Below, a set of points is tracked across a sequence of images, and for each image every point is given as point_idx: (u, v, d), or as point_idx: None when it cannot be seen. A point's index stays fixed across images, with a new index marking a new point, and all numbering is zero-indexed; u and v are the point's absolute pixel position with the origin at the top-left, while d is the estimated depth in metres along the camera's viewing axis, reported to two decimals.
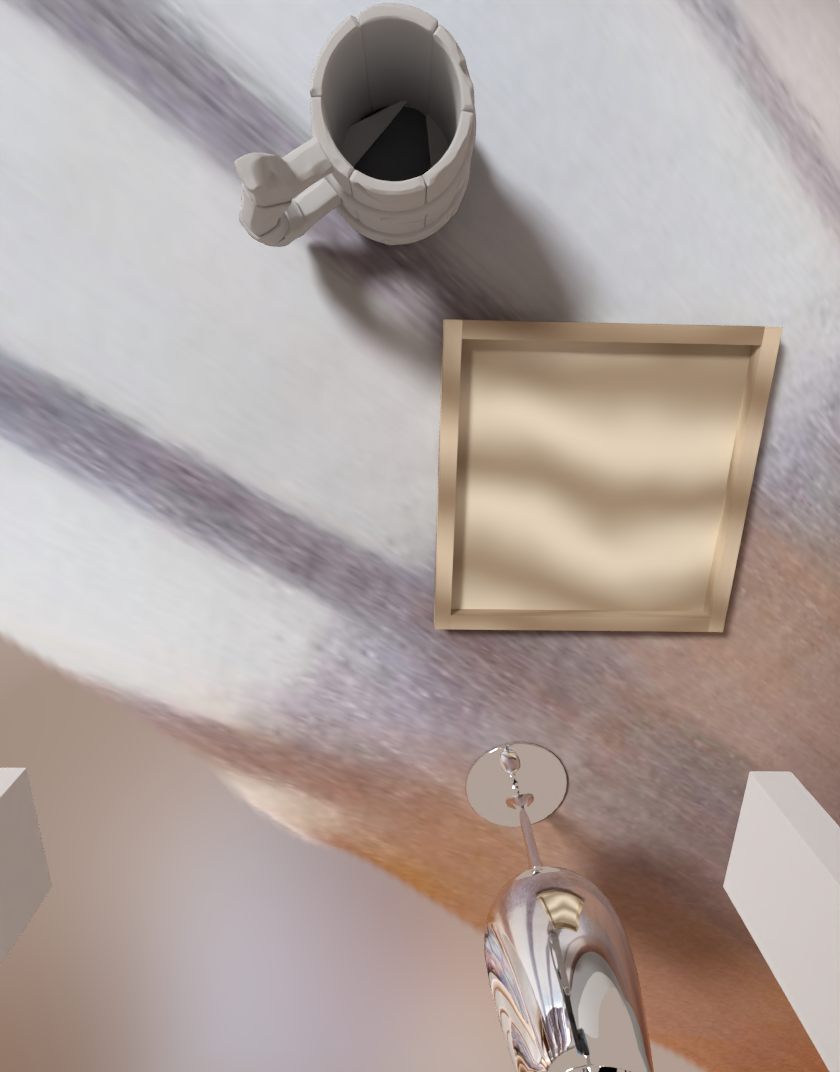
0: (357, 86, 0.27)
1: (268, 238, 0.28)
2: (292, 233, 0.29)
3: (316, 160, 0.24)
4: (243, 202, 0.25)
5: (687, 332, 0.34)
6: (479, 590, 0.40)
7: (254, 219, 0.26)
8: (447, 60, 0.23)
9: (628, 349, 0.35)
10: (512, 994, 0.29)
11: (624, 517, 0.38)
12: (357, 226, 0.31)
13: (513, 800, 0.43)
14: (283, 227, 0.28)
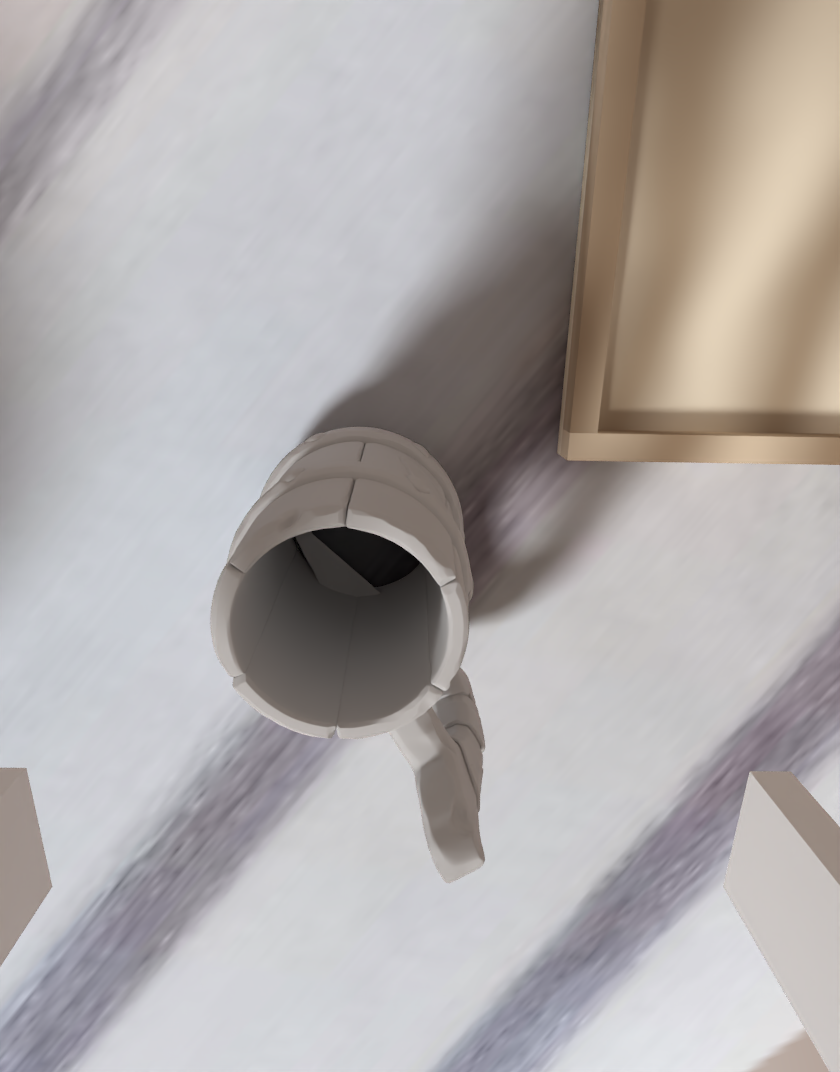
0: (289, 607, 0.20)
1: (480, 731, 0.21)
2: (463, 685, 0.22)
3: (416, 729, 0.16)
4: None
5: (626, 1, 0.18)
6: None
7: None
8: None
9: (633, 127, 0.20)
10: None
11: None
12: None
13: None
14: (464, 709, 0.21)
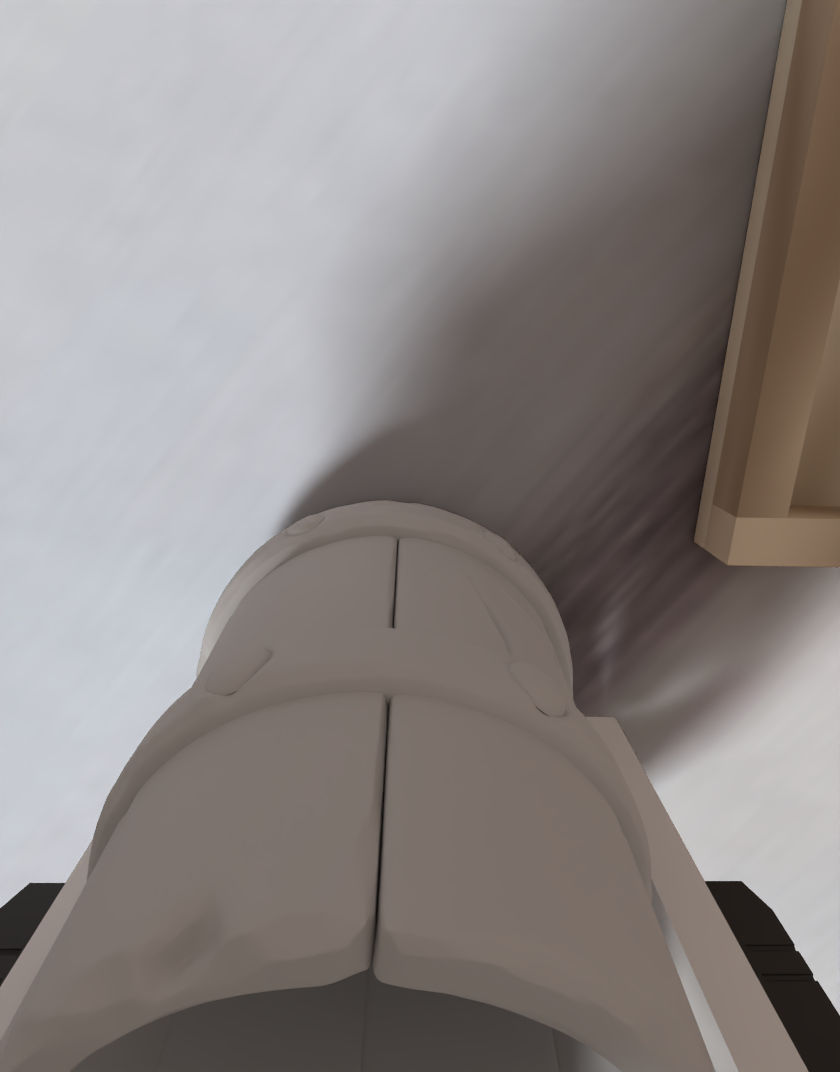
0: None
1: None
2: None
3: None
4: None
5: None
6: None
7: None
8: None
9: None
10: None
11: None
12: None
13: None
14: None
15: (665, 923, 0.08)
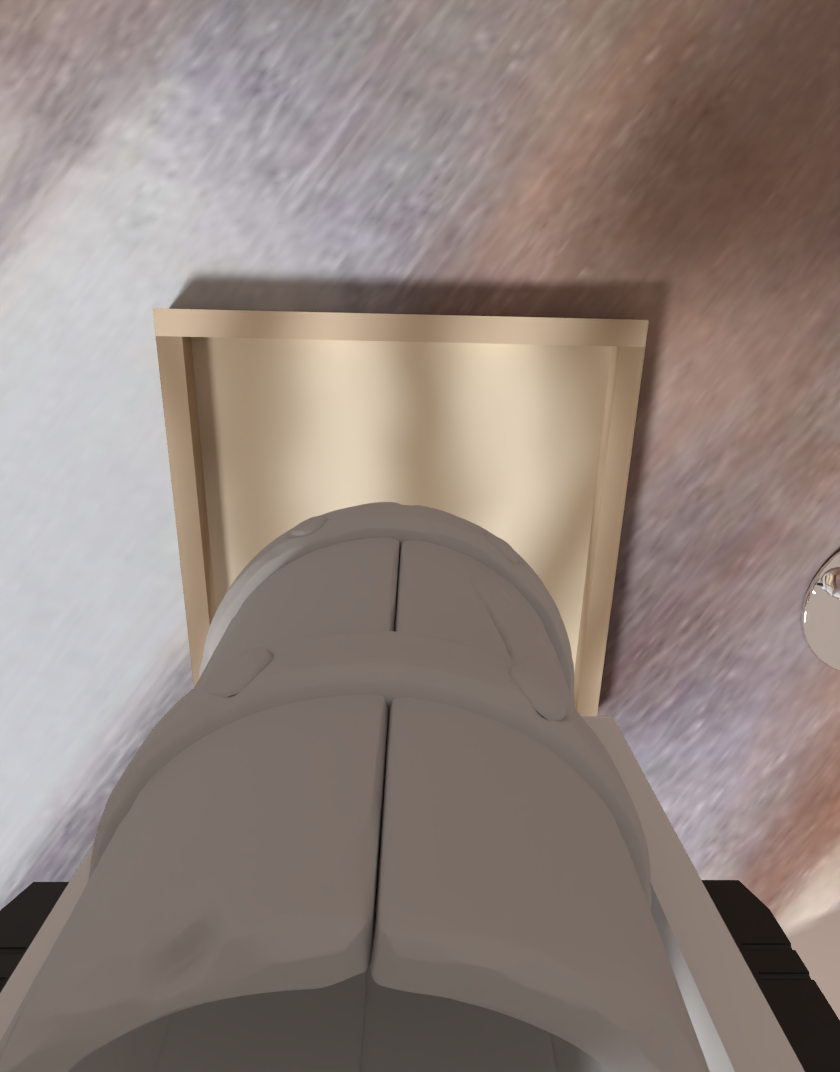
0: None
1: None
2: None
3: None
4: None
5: (178, 448, 0.25)
6: None
7: None
8: None
9: (215, 510, 0.26)
10: None
11: (448, 489, 0.26)
12: None
13: None
14: None
15: (662, 922, 0.08)
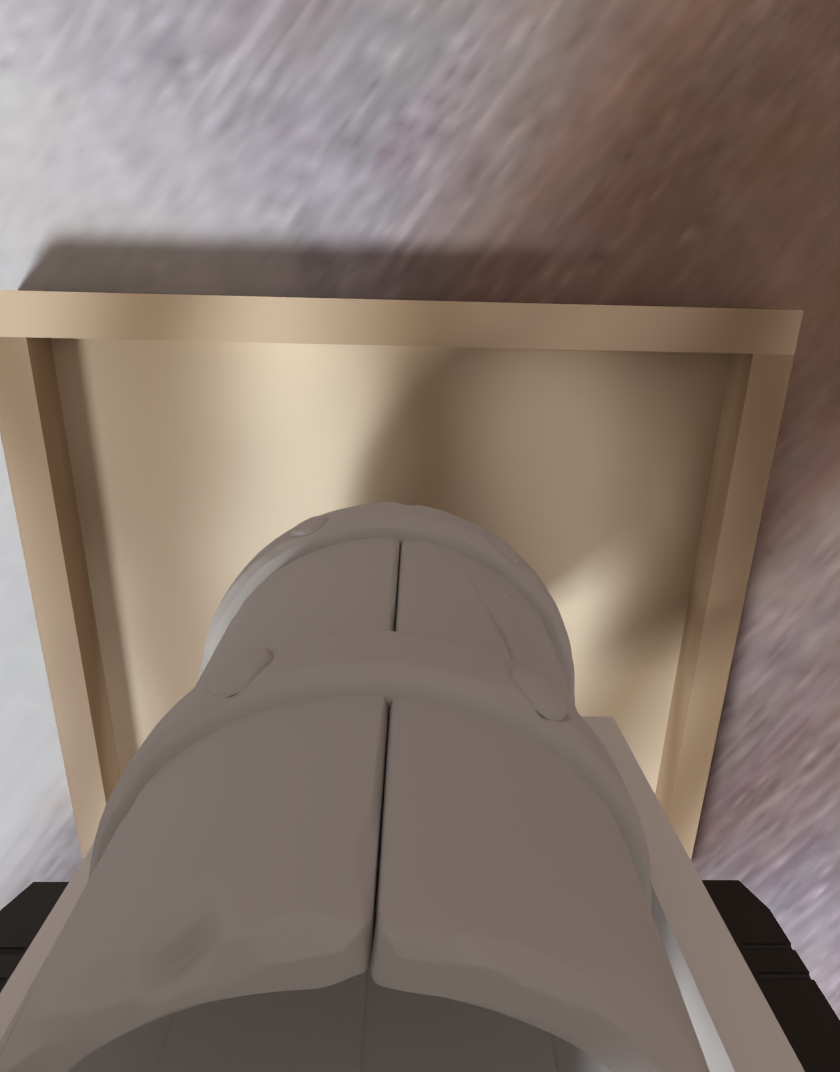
0: None
1: None
2: None
3: None
4: None
5: (33, 518, 0.15)
6: None
7: None
8: None
9: (106, 606, 0.17)
10: None
11: None
12: None
13: None
14: None
15: (661, 922, 0.08)
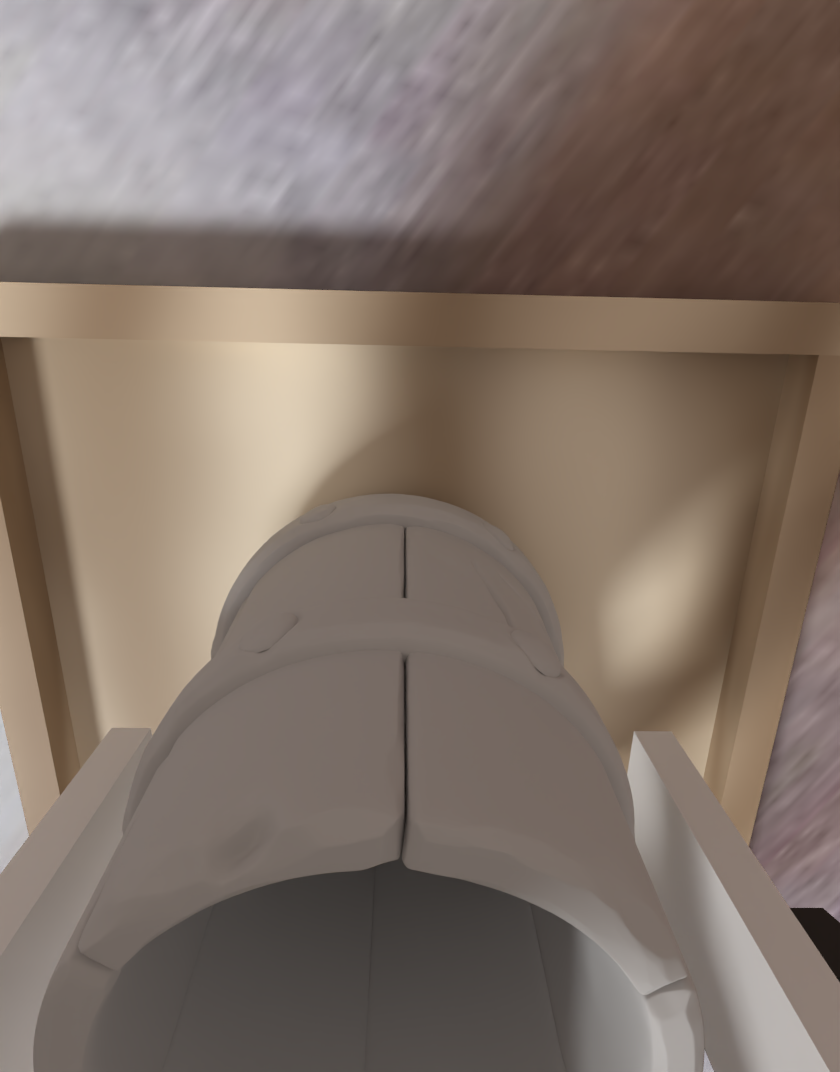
0: None
1: None
2: None
3: None
4: None
5: None
6: None
7: None
8: None
9: (71, 641, 0.15)
10: None
11: None
12: None
13: None
14: None
15: (755, 956, 0.08)
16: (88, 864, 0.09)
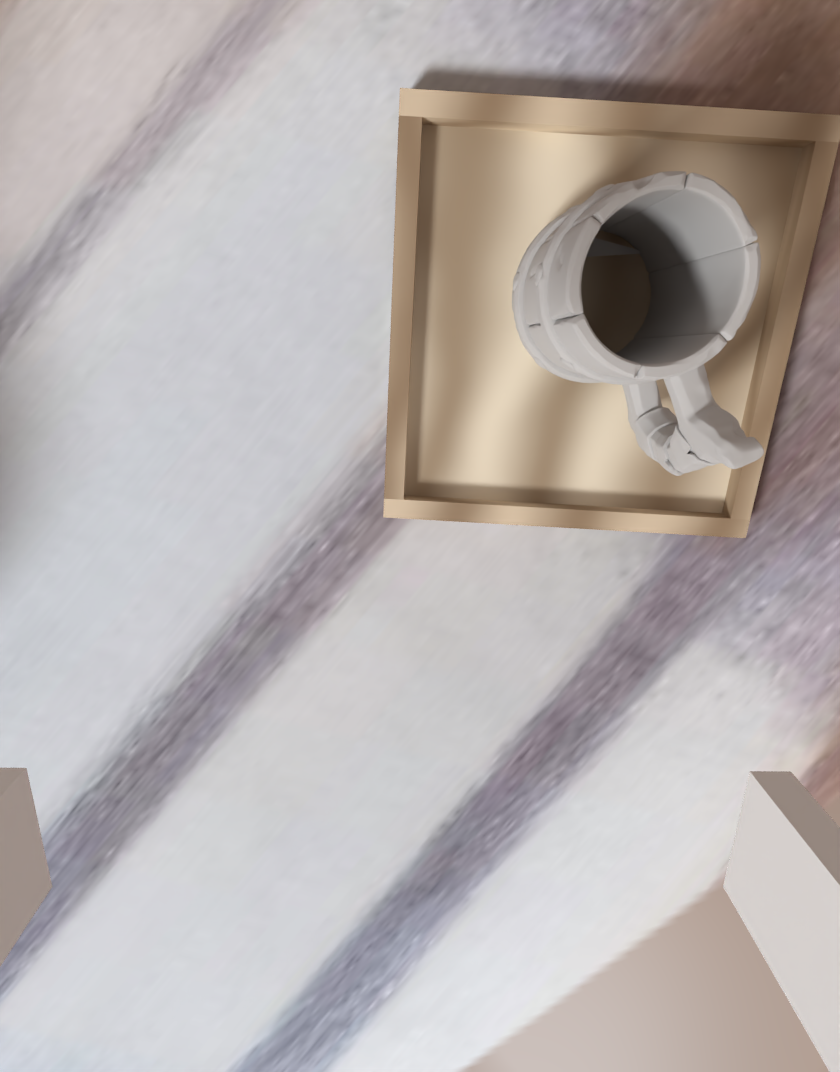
0: None
1: None
2: None
3: (697, 378, 0.21)
4: (700, 467, 0.23)
5: (403, 227, 0.27)
6: (704, 477, 0.32)
7: None
8: None
9: (421, 299, 0.29)
10: None
11: (635, 286, 0.29)
12: None
13: None
14: None
15: None
16: None
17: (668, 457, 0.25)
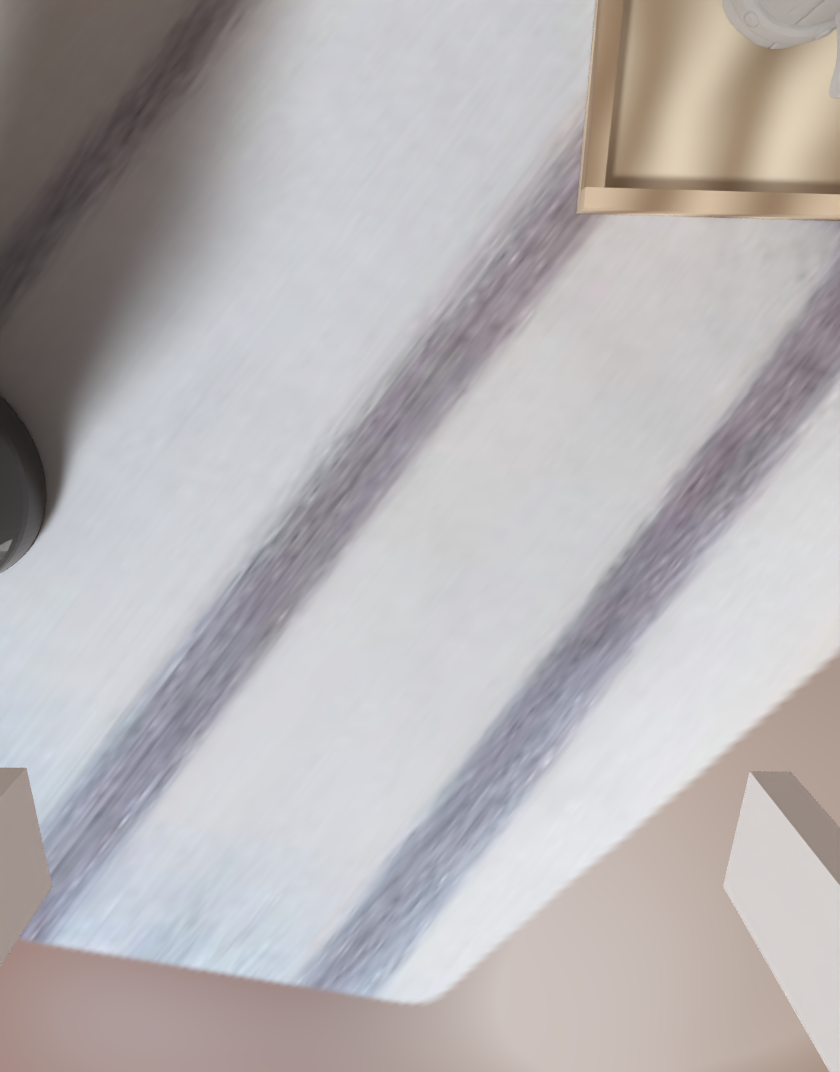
0: None
1: None
2: None
3: None
4: None
5: None
6: None
7: None
8: None
9: None
10: None
11: None
12: None
13: None
14: None
15: None
16: None
17: None
